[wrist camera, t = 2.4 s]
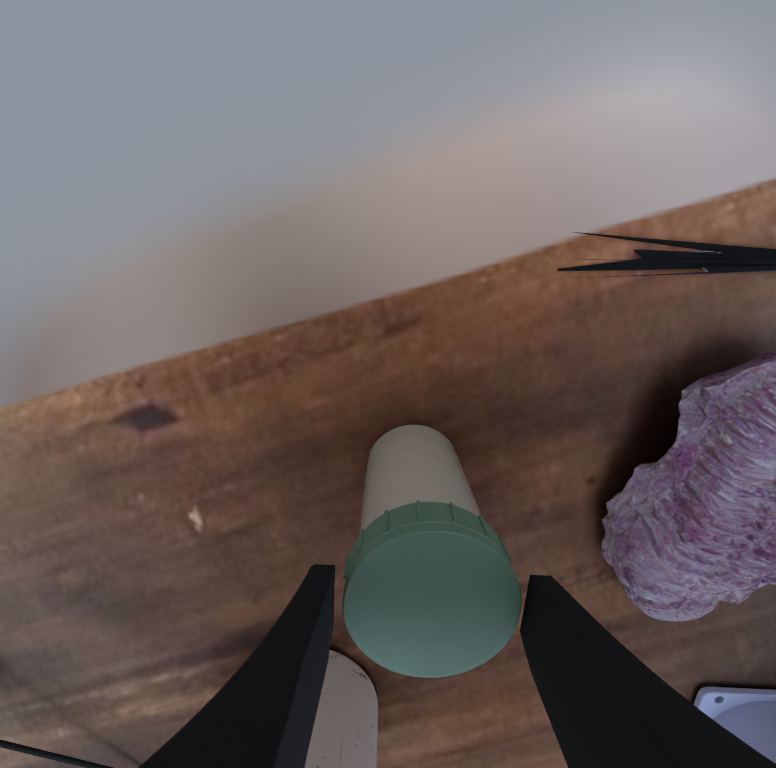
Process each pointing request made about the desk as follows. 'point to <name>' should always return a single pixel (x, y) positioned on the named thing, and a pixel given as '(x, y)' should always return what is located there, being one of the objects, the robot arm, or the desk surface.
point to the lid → (430, 590)
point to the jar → (413, 473)
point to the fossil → (703, 501)
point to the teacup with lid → (344, 718)
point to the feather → (691, 258)
